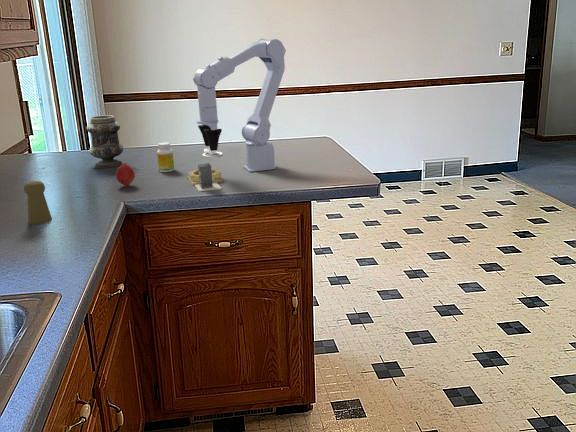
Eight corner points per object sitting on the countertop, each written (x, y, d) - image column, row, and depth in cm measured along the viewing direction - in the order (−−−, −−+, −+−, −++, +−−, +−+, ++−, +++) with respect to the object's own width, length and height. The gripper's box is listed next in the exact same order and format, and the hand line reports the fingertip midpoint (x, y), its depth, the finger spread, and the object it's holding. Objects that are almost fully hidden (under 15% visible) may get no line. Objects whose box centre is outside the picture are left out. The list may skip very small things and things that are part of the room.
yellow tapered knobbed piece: (32, 218, 165) (25, 179, 162) (54, 216, 166) (48, 178, 162) (25, 225, 160) (17, 185, 156) (48, 223, 160) (41, 184, 156)
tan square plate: (216, 174, 203) (216, 172, 203) (223, 181, 194) (223, 179, 194) (187, 178, 200) (187, 175, 200) (192, 185, 191) (192, 183, 191)
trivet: (216, 183, 193) (216, 182, 192) (221, 189, 186) (221, 187, 186) (195, 186, 190) (194, 184, 190) (199, 191, 184) (199, 190, 184)
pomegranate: (119, 189, 190) (116, 165, 187) (115, 185, 195) (112, 161, 192) (137, 186, 192) (134, 162, 190) (133, 182, 197) (130, 159, 194)
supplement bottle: (170, 172, 208) (168, 145, 205) (156, 172, 209) (153, 145, 206) (176, 168, 213) (174, 141, 210) (162, 168, 214) (159, 141, 211)
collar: (216, 172, 203) (216, 167, 202) (223, 179, 194) (222, 174, 193) (187, 175, 200) (186, 170, 199) (192, 183, 191) (192, 177, 190)
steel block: (199, 185, 189) (197, 164, 187) (210, 184, 190) (208, 163, 188) (201, 188, 186) (199, 166, 184) (212, 187, 187) (211, 165, 185)
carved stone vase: (124, 159, 230) (118, 112, 224) (126, 166, 219) (120, 117, 213) (91, 162, 226) (84, 115, 221) (91, 170, 216) (84, 120, 210)
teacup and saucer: (202, 153, 238) (201, 143, 237) (222, 152, 239) (221, 141, 237) (201, 158, 230) (201, 147, 228) (222, 156, 231) (221, 146, 229)
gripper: (191, 105, 199) (194, 145, 203) (200, 111, 186) (204, 153, 190) (212, 103, 201) (215, 143, 205) (222, 109, 188) (225, 151, 192)
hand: (211, 148), depth 198 cm, fingers open, 7 cm apart
